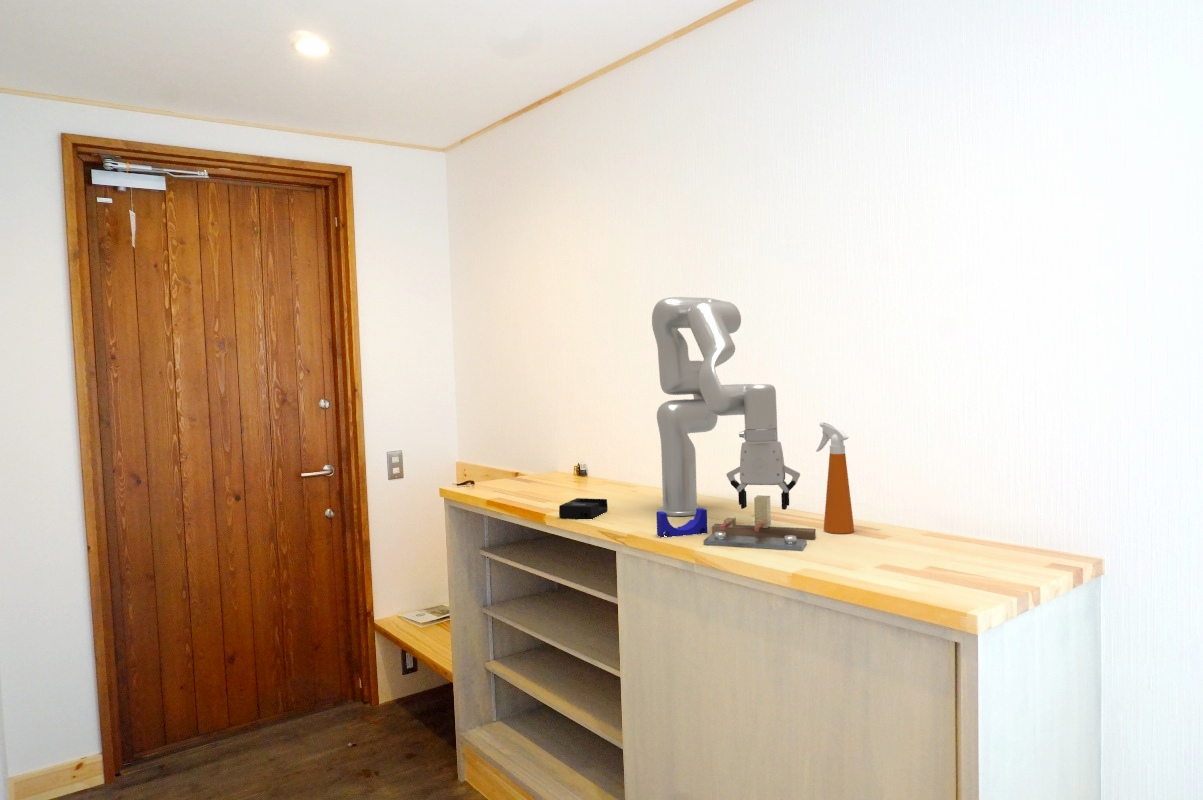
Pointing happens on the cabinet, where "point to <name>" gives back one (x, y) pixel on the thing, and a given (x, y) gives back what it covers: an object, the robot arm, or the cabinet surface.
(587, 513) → the battery charger
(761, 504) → the slider
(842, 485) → the spray bottle
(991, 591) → the cabinet surface
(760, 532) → the beam
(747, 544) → the bolt plate
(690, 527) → the cable clip
